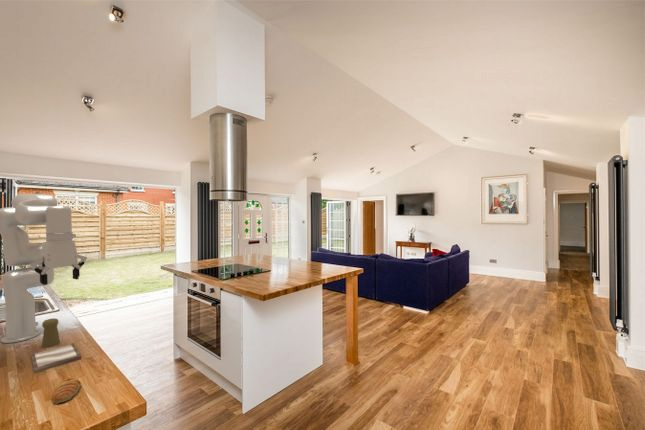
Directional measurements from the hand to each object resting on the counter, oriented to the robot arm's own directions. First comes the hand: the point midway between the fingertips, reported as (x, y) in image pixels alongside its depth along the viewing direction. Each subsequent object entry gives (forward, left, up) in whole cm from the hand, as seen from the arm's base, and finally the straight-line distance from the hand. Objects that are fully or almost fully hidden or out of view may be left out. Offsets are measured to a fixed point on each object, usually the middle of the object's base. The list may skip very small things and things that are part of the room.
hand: (60, 281), depth 115 cm
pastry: (+29, +12, -31) cm, 44 cm away
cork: (-18, -11, -30) cm, 37 cm away
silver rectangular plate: (-2, -3, -30) cm, 30 cm away
